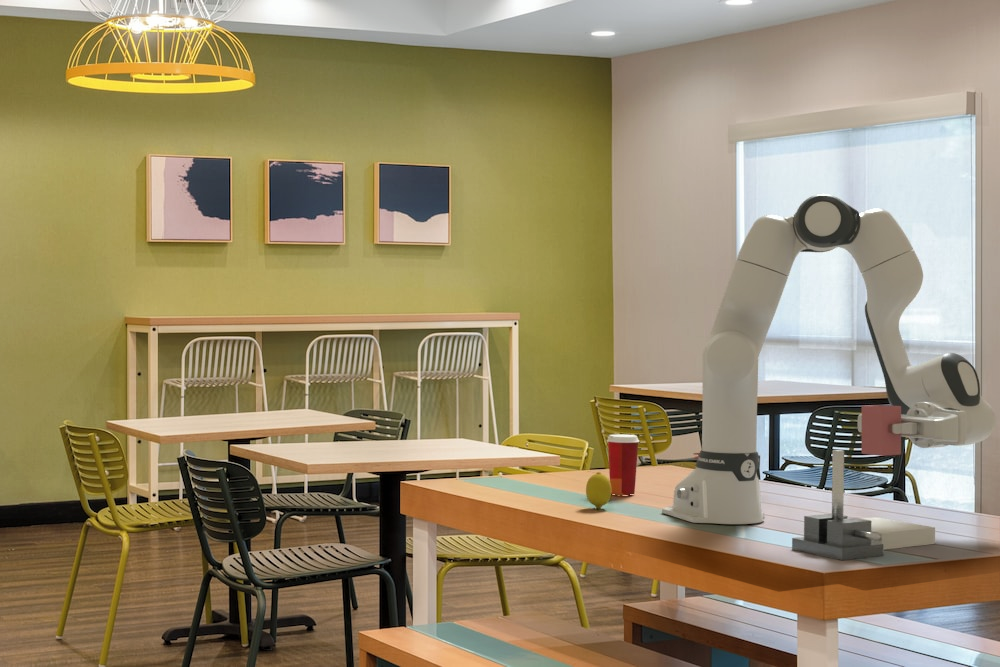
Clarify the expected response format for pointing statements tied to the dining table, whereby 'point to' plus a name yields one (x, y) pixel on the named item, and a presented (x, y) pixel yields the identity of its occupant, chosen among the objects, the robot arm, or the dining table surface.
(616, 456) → the paper cup
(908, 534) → the block
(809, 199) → the robot arm
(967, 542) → the dining table surface
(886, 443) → the sleeve
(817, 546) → the vise
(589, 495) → the lemon
